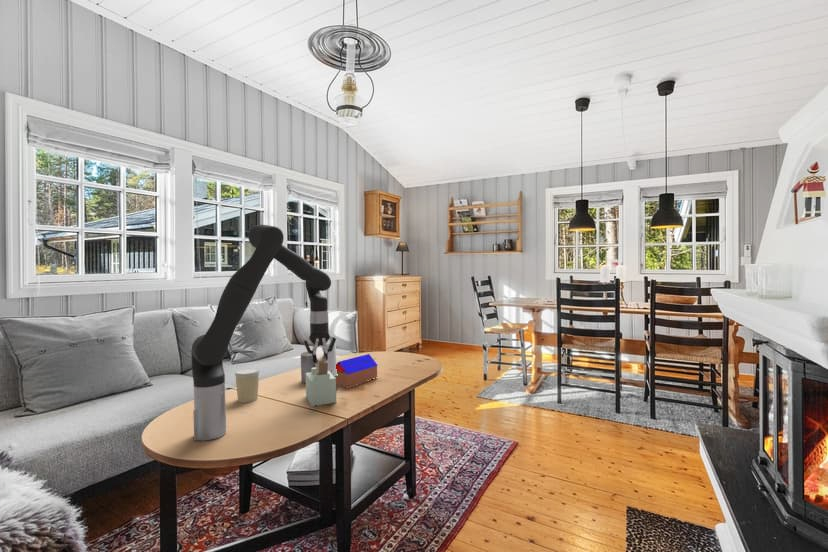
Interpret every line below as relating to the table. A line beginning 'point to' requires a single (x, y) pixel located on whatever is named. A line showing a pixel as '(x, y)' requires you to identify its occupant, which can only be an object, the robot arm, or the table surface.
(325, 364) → the long beige cuboid
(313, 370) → the stand
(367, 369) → the house
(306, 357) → the pillar candle
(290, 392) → the table surface
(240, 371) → the coffee cup
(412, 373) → the table surface
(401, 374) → the table surface
